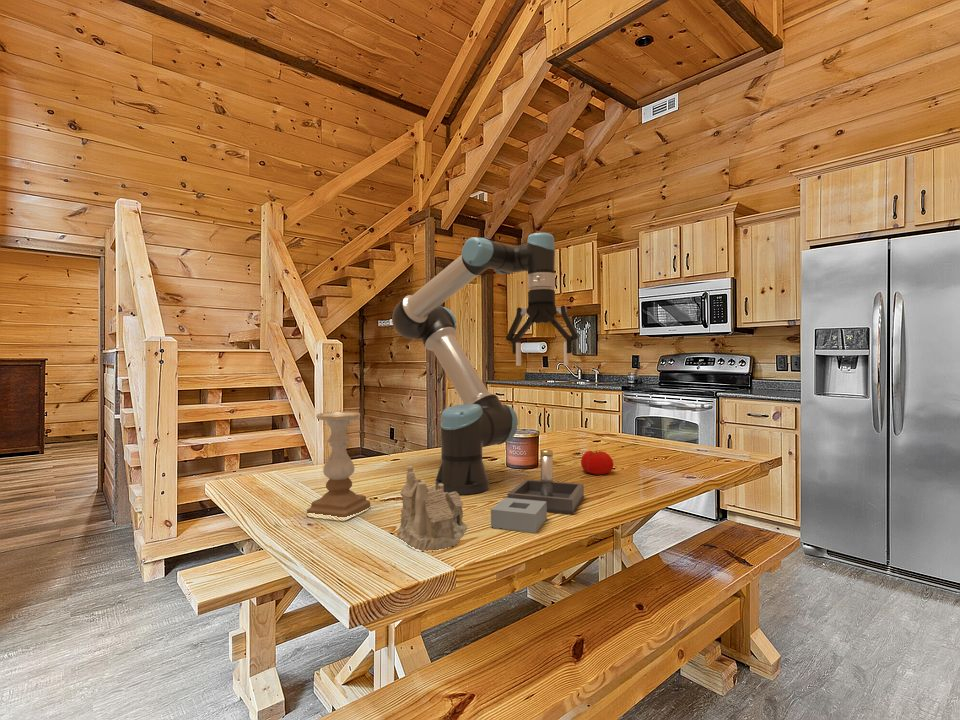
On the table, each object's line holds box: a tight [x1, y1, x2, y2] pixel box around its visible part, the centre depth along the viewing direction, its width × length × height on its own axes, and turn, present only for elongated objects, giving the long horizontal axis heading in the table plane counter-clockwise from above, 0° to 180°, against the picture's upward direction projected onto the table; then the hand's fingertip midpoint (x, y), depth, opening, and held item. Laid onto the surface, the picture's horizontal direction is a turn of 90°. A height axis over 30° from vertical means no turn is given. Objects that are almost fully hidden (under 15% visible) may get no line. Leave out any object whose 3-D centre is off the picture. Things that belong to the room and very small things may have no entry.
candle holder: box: [306, 411, 371, 517], centre depth 122 cm, size 11×11×24 cm
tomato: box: [580, 450, 615, 476], centre depth 163 cm, size 10×11×7 cm
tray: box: [506, 478, 585, 516], centre depth 129 cm, size 16×16×4 cm
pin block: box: [490, 497, 548, 534], centre depth 113 cm, size 10×10×4 cm
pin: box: [540, 448, 554, 497], centre depth 129 cm, size 3×3×12 cm
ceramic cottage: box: [397, 465, 468, 551], centre depth 106 cm, size 16×16×15 cm
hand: (542, 365), depth 142 cm, fingers open, 13 cm apart
